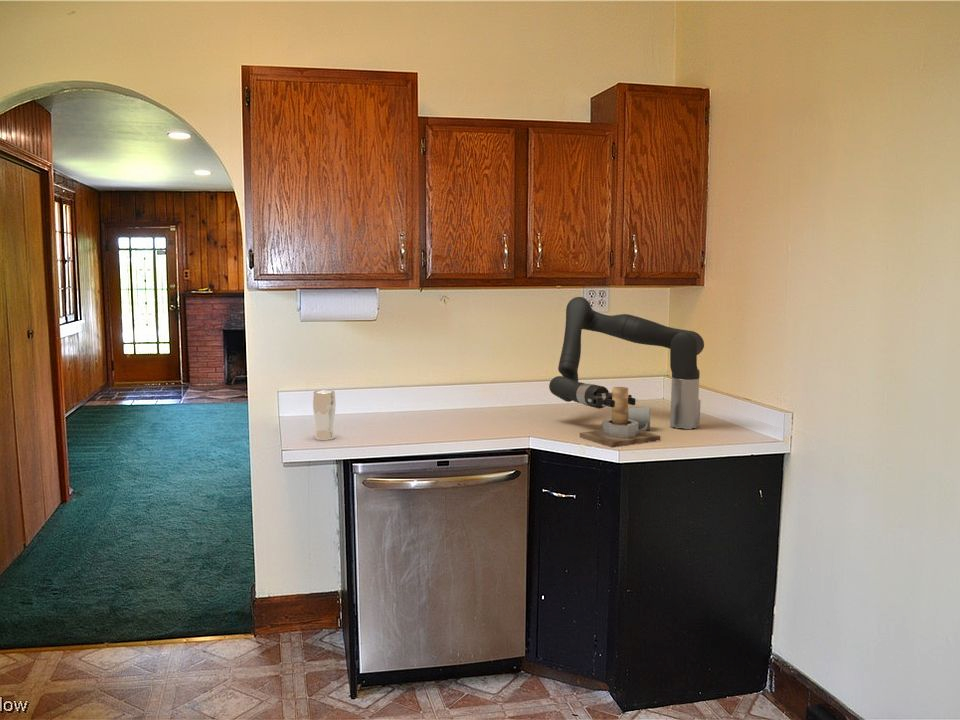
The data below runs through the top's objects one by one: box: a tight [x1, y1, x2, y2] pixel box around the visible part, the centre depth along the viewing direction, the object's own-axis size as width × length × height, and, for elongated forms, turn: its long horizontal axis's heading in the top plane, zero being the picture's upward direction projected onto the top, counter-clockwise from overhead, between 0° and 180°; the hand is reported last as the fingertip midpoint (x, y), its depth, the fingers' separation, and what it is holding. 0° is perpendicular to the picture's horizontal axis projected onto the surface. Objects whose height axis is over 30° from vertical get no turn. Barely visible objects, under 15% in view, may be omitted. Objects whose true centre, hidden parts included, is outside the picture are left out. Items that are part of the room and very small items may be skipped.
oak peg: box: [611, 386, 629, 424], centre depth 254 cm, size 5×5×15 cm
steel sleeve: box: [601, 418, 639, 438], centre depth 254 cm, size 11×11×4 cm
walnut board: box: [579, 429, 661, 448], centre depth 255 cm, size 20×16×2 cm
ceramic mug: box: [628, 406, 651, 432], centre depth 268 cm, size 11×8×8 cm
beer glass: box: [312, 389, 336, 441], centre depth 252 cm, size 7×7×15 cm
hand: (624, 402), depth 252 cm, fingers open, 8 cm apart
